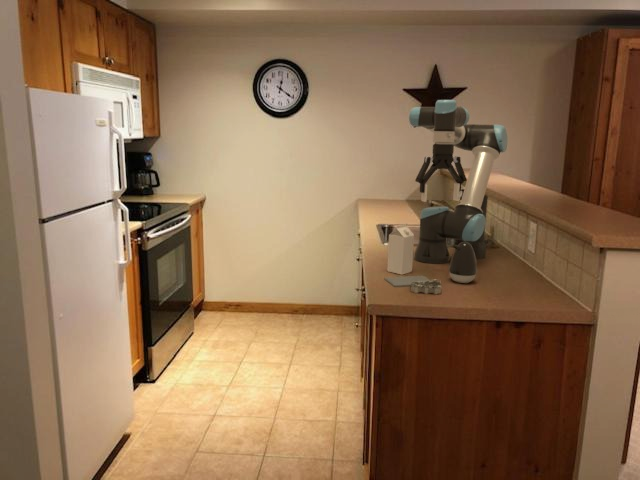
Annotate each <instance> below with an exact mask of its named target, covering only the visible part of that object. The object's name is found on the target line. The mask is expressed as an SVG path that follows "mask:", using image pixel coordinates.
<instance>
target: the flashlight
mask: <svg viewBox="0 0 640 480" xmlns="http://www.w3.org/2000/svg"><path fill="white" fill-rule="evenodd" d="M488 198H489V196H488V194H485V195H484V198H483V202H482V205H481V210H482V211H483V215H484V216H485V220H487V219H486V218H487V207H488ZM485 233H486V227H485V228H484V231H483V233H482V235H481V237H480V238H479V239H478V240H476V241H471V243H470V244H471V246H472V248H473V250H474V253H475V257H476V260H477V259H478V260H482V259H483V260H484V259H486V258H485V257H487V256H486V255H487V245H486V242H485V237H486V236H485Z"/></svg>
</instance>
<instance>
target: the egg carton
mask: <svg viewBox="0 0 640 480" xmlns="http://www.w3.org/2000/svg"><path fill="white" fill-rule="evenodd" d="M430 280H431V281H428V280H427V281H418V282H414V281H411V286H410V291H411V292H412V293H414V294H418V293H423V294H434V295H438V294H441V293H442V283H441V279H440V278H433V279H430Z"/></svg>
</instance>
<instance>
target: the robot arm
mask: <svg viewBox="0 0 640 480" xmlns="http://www.w3.org/2000/svg"><path fill="white" fill-rule="evenodd" d="M457 103H458V102H457V101H456V100H455V99H437V100H436V102H435V105H434V106H416V107H414V106H413V107H412V108H411V109H410V111H409V116H408V118H409V119H408V120H409V124H410V125H411V127H417V128H419V127H421V128H425V129H427V130H429V131H430V132H432V133H433V137H432V142H433V144H432V157H431V156H424V160H423V163H422V165H421V167H420V169H419V171H418V173H417V176H416V178H415V181H414V182H416V183H419V193H421V196H420V197H421V199H420V202H423V203H427V199H428V198H427V196H428V184H427V182H428V181H429V179H431V177H432V176H433V174H434V173H436V171H437V170H447V171H448V172H449V173H450V175H451V177H452V178H453V180H454V181H455V182H454V183H453V197H452V200H453V201H456V202H459V200H460V192H462V184H464V182H465V186H464V190H463V192H462V197H461V200H460V203H458V204H456V205H455V208H454V209H453V210H450V208H449V206H431V207H430V206H429V207H425V208H423V209H421V211H420V216H419V217H420V218H419V235H418V237H419V238H418V239H419V240H418V243H417V246H416V249H415V251H414V252H413V259H414V260H415V261H418V262H421V263H428V264H446V263H448V262H450V253H449V249H448V244H447V239H452V240H458V241H463V242H472V241H476V240H478V239H479V238H480V237H481V235H482V233H483V231H484V228H485V229H486V220H487V219H486V220H485V216H484V215H483V211H482V210H481V205H482V202H483V198H484V195H486V191H487V187H488V183H489V180H490V176H491V174H492V169H493V167H494V163H495V160H497V159H499V158H500V154H502V153H505V152H506V150H507V149H508V132H507V129H506V127H505V126H504V125H502V124H496V123H494V124H479V123H478V124H476V123H475V124H473V123H470V124H468V123H469V120H470V113H469V111H468V109H466V107H463V106H457ZM454 147H455V148H458V149H461V150H463V151H468V152H470V151H471V153H472V155H473V159H472V162H471V165H470V169H469V172H468V177H466V173H465V172H464V168H463V166H462V163H461V162H462V161H461V157H460V156H454V151H455V150H454V149H455V148H454ZM452 163H454V166H455V167H454V166H453V164H452ZM430 164H431V165H430ZM429 166H430V167H429Z"/></svg>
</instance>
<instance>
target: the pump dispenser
mask: <svg viewBox="0 0 640 480" xmlns="http://www.w3.org/2000/svg"><path fill="white" fill-rule="evenodd" d="M452 248H453V249H454V251H453V252H452V256H451V258H450V260H449V266H448V272H449V275H450V278H451V280H452V281H454V282H456V283H460V284H469V283H470V282H472V281H474V279H475V278H476V275H477V273H478V266H477V259H476V257H475V253H474V250H473V248H472V246H471V243H470V242H469V241H461V242H459V243H458V244H457V245H456V244H453V245H452Z"/></svg>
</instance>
